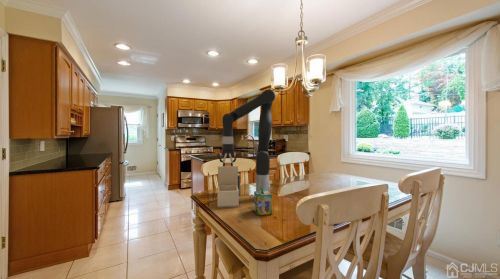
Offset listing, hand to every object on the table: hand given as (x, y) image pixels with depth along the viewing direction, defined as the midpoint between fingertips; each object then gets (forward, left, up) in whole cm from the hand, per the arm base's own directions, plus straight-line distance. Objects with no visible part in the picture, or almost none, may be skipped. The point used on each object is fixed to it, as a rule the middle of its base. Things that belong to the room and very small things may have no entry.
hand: (227, 168), depth 147 cm
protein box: (-1, -12, -22) cm, 25 cm away
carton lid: (0, +4, -5) cm, 6 cm away
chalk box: (-20, +25, -22) cm, 39 cm away
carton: (0, +8, -22) cm, 23 cm away
